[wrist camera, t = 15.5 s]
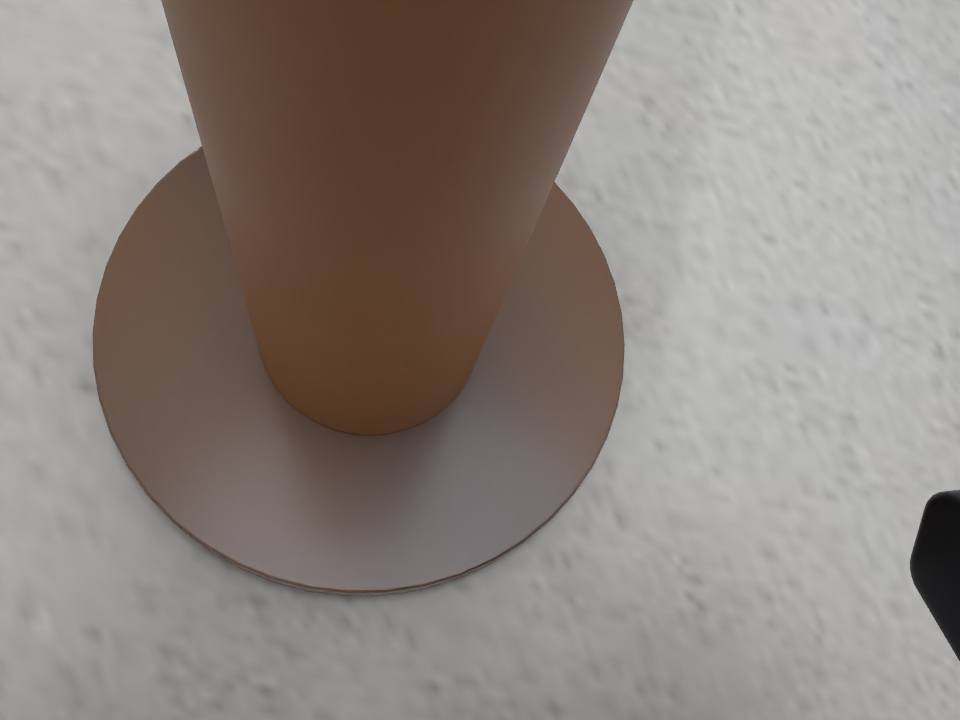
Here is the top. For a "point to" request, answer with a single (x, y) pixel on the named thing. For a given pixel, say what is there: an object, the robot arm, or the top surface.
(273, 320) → the orange cylinder
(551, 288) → the round brown plate
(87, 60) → the top surface
